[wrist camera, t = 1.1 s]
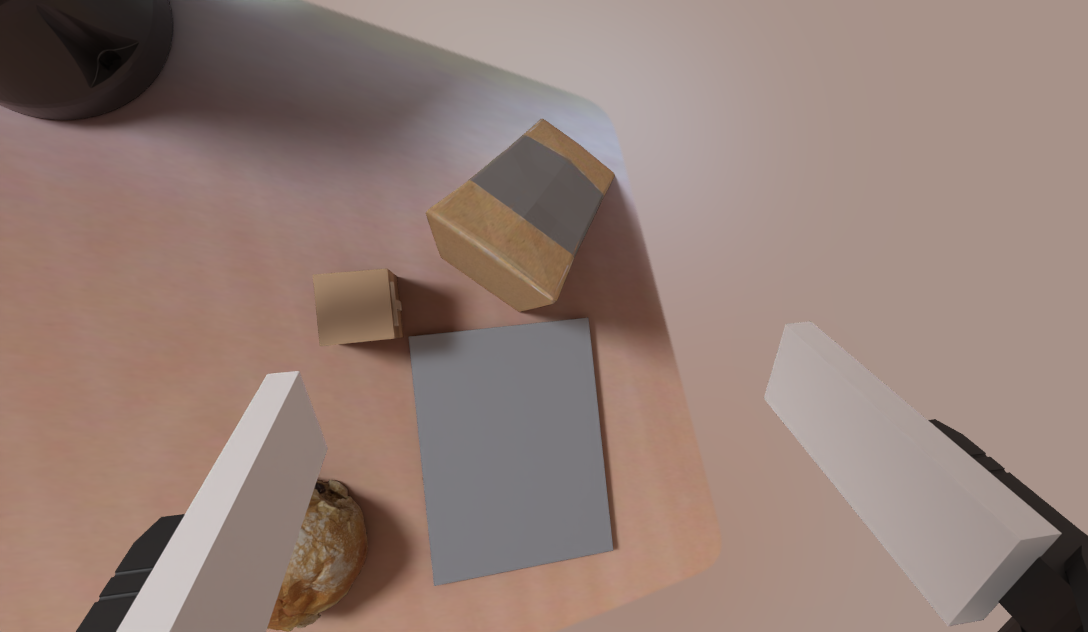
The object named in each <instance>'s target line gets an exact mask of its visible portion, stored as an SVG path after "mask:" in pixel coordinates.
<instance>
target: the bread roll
mask: <svg viewBox="0 0 1088 632" xmlns="http://www.w3.org/2000/svg"><path fill="white" fill-rule="evenodd" d="M347 494H348V490H347V488H346V487H345V486H343V485H342V484H341V483H339V482H337V481H333V480H329V483H324V482H321V481H317V482H316V485H315V488H314V490H313V493H312V496H311V499H310V502H309V505H308V508H307V511H306V514H305V517H304V520H303V523H302V526H301V529H300V532H299V535H298V538H297V541H296V544H295V547H294V550H293V553H292V556H291V559H290V562H289V565H288V568H287V571H286V574H285V577H284V580H283V582H282V585H281V588H280V591H279V594H278V597H277V600H276V603H275V606H274V609H273V612H272V615H271V618H270V621H269V624H268V627H267V628H268V629H274V630H283V631H287V632H289V631H291V630H293V628H294V627H297V628H302V627H306V626H307V625H310V624H313V623H314V622H315V621H316V620H317V619H318V618H319V617H320V616H321V615H319V612H322V611H324V610H327V609H328V608H330V607H332V606H333V605H335V604H336V603H338V602H339V600H340V599H341V598H342V597H344V596H345V595H346V594H347V593H348V591H349V589H350V587H351V585H352V583H353V581H354V580H355V579H356V577H357V576H358V575H359V573H360V571H361V569H362V567H363V565H364V563H365V559H366V556H367V550H368V547H367V532H366V530H365V526H364V518H363V514H362V511H361V509H360V507H359V506H358V504H357V503H356V502H354V500H353V499H352V498H351V496H349V497H348V495H347Z"/></svg>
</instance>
